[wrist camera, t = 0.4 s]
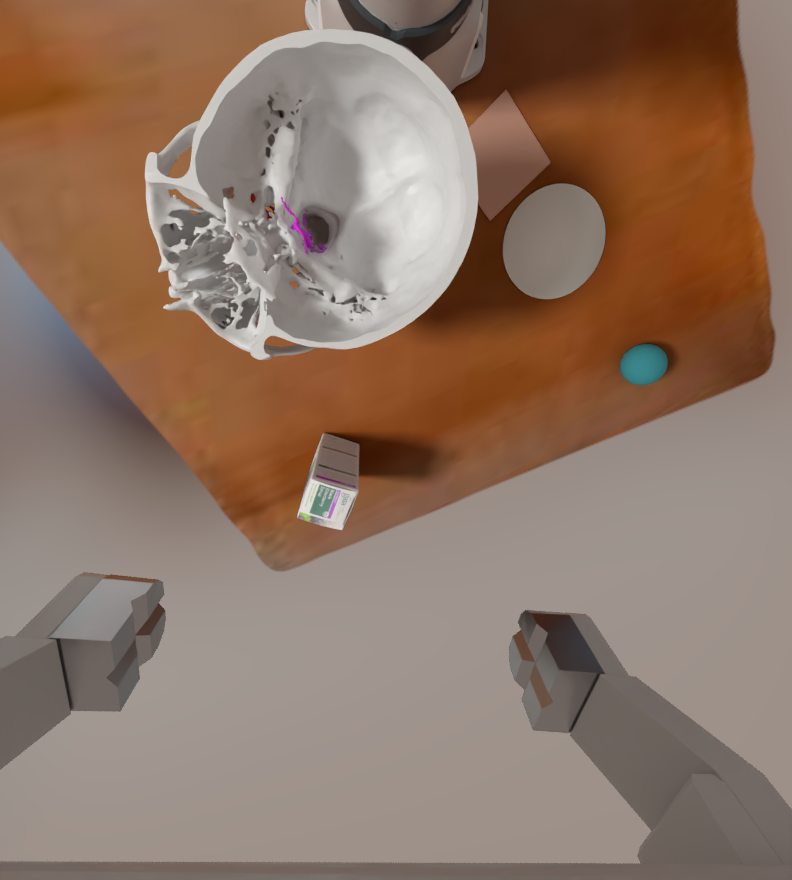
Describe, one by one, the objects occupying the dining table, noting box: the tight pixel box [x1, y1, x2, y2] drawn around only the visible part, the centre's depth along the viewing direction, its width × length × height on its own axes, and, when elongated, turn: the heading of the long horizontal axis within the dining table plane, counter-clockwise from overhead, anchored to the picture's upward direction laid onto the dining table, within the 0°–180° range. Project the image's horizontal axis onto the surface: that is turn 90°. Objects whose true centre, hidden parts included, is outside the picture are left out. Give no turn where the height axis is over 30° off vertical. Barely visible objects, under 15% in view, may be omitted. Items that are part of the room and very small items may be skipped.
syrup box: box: [297, 433, 360, 530], centre depth 51 cm, size 6×6×14 cm
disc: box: [503, 183, 606, 299], centre depth 49 cm, size 13×13×1 cm
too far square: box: [468, 90, 551, 221], centre depth 45 cm, size 9×9×1 cm
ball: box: [620, 344, 668, 385], centre depth 53 cm, size 6×6×6 cm
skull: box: [145, 29, 478, 360], centre depth 37 cm, size 25×19×23 cm
